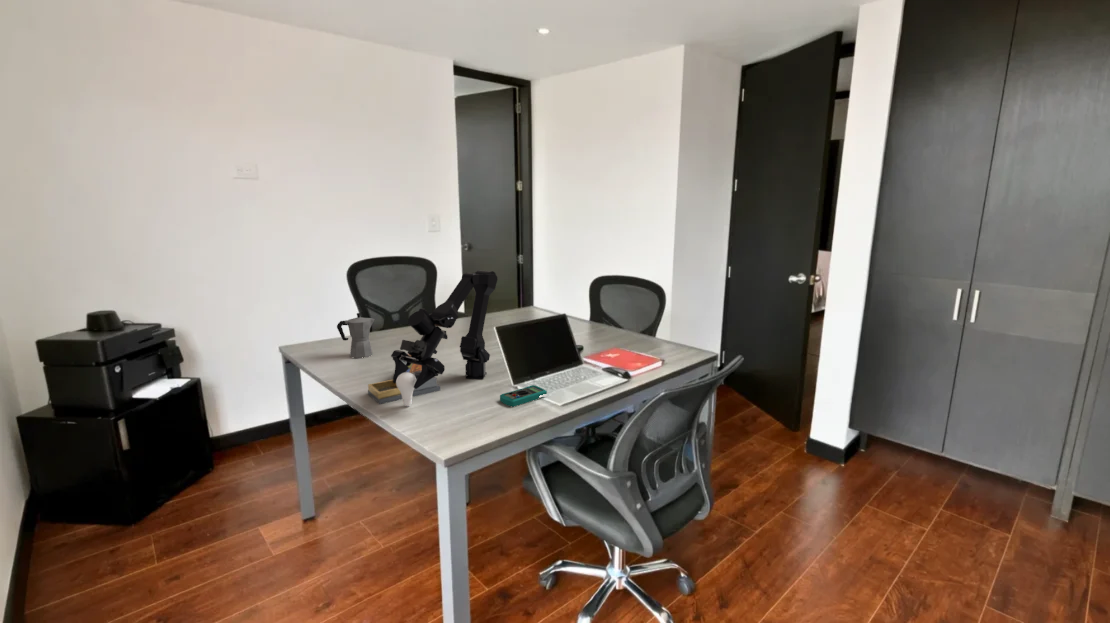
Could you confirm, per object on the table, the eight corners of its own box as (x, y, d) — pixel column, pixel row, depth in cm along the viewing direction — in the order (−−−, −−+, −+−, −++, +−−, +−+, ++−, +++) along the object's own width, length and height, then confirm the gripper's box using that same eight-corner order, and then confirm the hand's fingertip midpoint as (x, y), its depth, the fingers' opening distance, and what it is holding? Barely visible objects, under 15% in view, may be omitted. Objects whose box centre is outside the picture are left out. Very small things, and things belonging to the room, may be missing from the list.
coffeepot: (373, 350, 218) (370, 309, 215) (381, 355, 211) (378, 313, 208) (336, 356, 209) (332, 313, 205) (343, 361, 202) (339, 317, 198)
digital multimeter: (498, 402, 164) (497, 393, 163) (534, 391, 173) (534, 383, 173) (511, 409, 158) (511, 400, 158) (547, 397, 168) (547, 389, 167)
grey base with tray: (426, 381, 181) (426, 365, 180) (440, 390, 172) (439, 373, 171) (368, 393, 168) (366, 376, 167) (379, 404, 160) (378, 386, 159)
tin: (407, 381, 181) (405, 358, 179) (398, 380, 182) (397, 358, 180) (425, 368, 195) (424, 347, 194) (418, 367, 196) (417, 346, 194)
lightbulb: (419, 402, 162) (418, 369, 159) (415, 410, 156) (413, 375, 153) (400, 402, 161) (398, 369, 159) (395, 410, 156) (393, 375, 153)
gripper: (394, 325, 162) (367, 367, 155) (436, 333, 153) (410, 378, 146) (413, 343, 170) (389, 384, 163) (455, 352, 161) (431, 396, 154)
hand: (404, 385), depth 156 cm, fingers open, 9 cm apart
